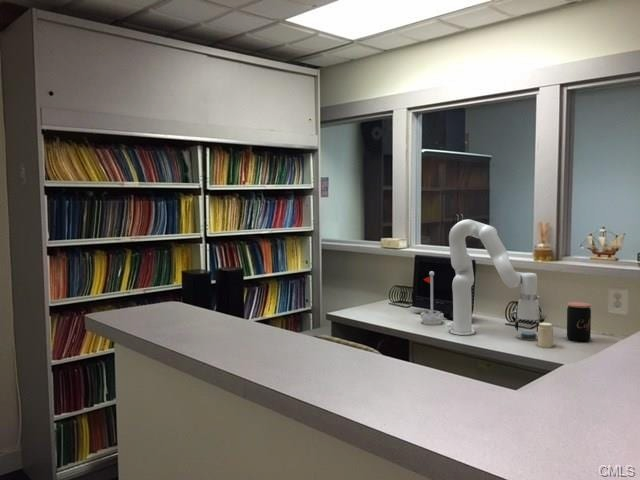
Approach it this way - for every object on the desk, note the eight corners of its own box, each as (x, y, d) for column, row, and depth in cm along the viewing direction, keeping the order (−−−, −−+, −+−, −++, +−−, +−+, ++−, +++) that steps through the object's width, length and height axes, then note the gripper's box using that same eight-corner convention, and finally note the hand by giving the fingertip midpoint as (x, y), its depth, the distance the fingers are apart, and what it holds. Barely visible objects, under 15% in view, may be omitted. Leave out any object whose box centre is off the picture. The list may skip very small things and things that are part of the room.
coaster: (514, 338, 271) (514, 337, 271) (521, 334, 280) (521, 333, 280) (536, 341, 265) (536, 340, 264) (543, 337, 273) (543, 336, 273)
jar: (536, 346, 256) (536, 324, 256) (538, 343, 262) (539, 321, 261) (551, 348, 253) (551, 326, 252) (553, 344, 259) (553, 323, 258)
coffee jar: (577, 343, 260) (578, 306, 259) (561, 338, 270) (562, 302, 269) (595, 341, 263) (596, 305, 262) (579, 336, 273) (579, 301, 272)
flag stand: (446, 321, 313) (445, 270, 311) (440, 326, 302) (439, 273, 300) (424, 319, 319) (423, 269, 317) (417, 324, 308) (417, 272, 306)
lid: (530, 339, 267) (530, 335, 267) (518, 336, 273) (518, 332, 273) (538, 336, 271) (538, 333, 271) (526, 334, 277) (526, 330, 277)
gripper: (546, 297, 272) (545, 330, 273) (510, 294, 278) (509, 327, 279) (547, 299, 265) (546, 333, 266) (510, 297, 271) (509, 330, 272)
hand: (527, 330), depth 273 cm, fingers open, 9 cm apart
